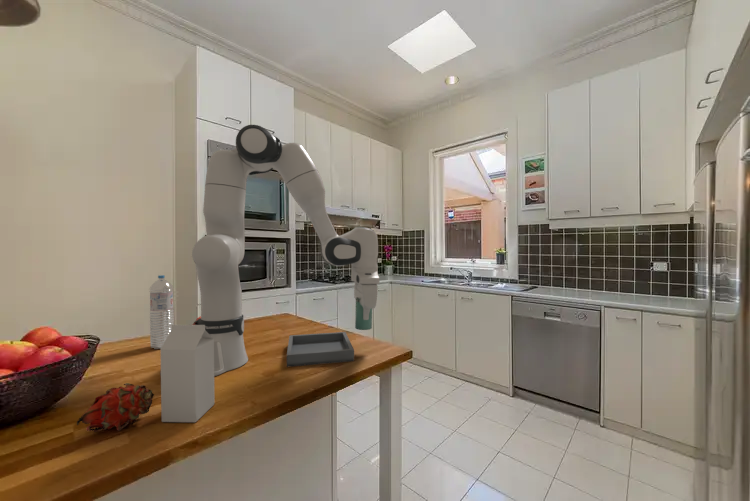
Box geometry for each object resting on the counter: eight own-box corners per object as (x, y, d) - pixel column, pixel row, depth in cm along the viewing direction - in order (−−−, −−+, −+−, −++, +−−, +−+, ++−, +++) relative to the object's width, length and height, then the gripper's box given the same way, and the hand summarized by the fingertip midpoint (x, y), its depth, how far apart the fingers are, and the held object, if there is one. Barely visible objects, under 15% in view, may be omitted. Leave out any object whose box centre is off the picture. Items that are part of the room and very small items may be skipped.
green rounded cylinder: (356, 330, 101) (357, 299, 100) (353, 325, 106) (354, 296, 106) (373, 329, 102) (374, 299, 102) (369, 325, 107) (370, 296, 107)
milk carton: (195, 423, 62) (194, 329, 62) (161, 422, 63) (159, 329, 62) (214, 404, 70) (213, 320, 69) (183, 404, 70) (182, 320, 69)
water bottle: (157, 343, 112) (156, 274, 111) (177, 342, 113) (176, 274, 112) (146, 350, 105) (144, 276, 105) (167, 349, 106) (166, 276, 105)
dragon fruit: (160, 420, 66) (85, 457, 57) (148, 388, 70) (75, 418, 61) (161, 399, 62) (79, 434, 53) (147, 366, 66) (69, 394, 57)
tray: (286, 367, 91) (286, 355, 91) (289, 345, 110) (289, 335, 110) (354, 361, 95) (354, 349, 95) (345, 341, 115) (345, 331, 115)
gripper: (350, 272, 113) (349, 310, 113) (360, 279, 93) (359, 324, 93) (367, 272, 115) (366, 310, 115) (381, 279, 95) (380, 324, 95)
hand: (363, 316), depth 104 cm, fingers closed on green rounded cylinder, 6 cm apart
